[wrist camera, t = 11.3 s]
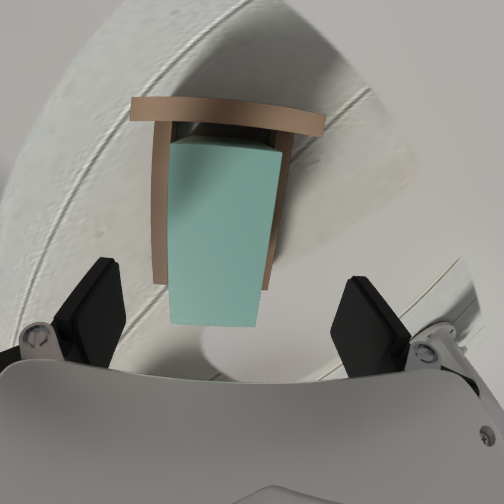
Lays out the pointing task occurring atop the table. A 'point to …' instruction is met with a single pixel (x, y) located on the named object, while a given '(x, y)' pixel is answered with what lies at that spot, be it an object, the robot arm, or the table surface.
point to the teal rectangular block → (219, 228)
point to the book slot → (222, 112)
